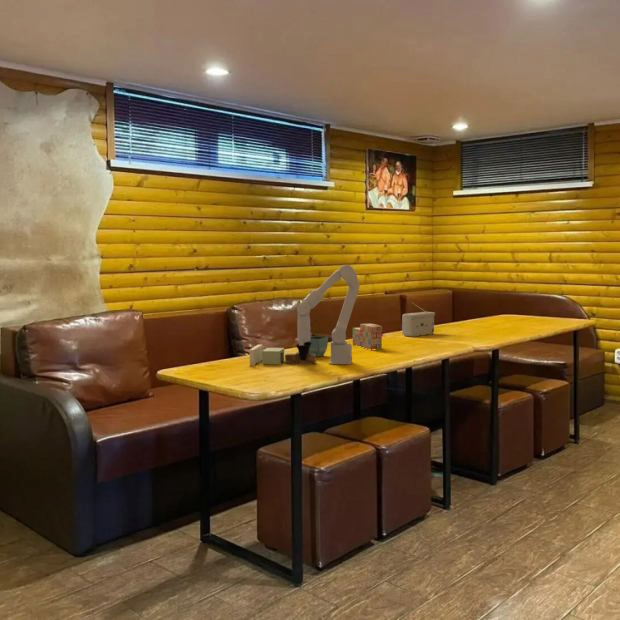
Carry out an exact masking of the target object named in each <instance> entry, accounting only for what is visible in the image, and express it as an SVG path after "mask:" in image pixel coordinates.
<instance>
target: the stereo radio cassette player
mask: <svg viewBox="0 0 620 620" xmlns="http://www.w3.org/2000/svg"><path fill="white" fill-rule="evenodd" d="M411 303H412V304H414V305H415V306H416V307H417V308H419V309H420V310H422V311H420V312H410V313H403V314H402V318H401V321H402V322H401V331H402V332H401V333H402V335H403V336H404V337H410V336H411V338H413V337H420V335H421V336H426V334H429V335H433V334H435V315H436V312H435V311H434V312H433V311H426V310H425V309H423V308H421V307H419V305H416V304H415V303H414V302H411ZM432 333H433V334H432Z"/></svg>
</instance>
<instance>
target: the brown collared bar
mask: <svg viewBox="0 0 620 620" xmlns="http://www.w3.org/2000/svg"><path fill="white" fill-rule="evenodd" d="M316 358H317V357H316V354H307V356H306V360H301V359H300V354H299V350H298V351H297V352H295V353H290V352H289V353H288V352H287V353H286V354H284V362H285V363H288V364H287V365H296V364H298V365H315V364H316V363H317V361H316V360H317V359H316ZM315 362H316V363H315ZM285 363H284V364H285Z"/></svg>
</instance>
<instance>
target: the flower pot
mask: <svg viewBox="0 0 620 620" xmlns="http://www.w3.org/2000/svg"><path fill="white" fill-rule="evenodd" d="M310 339H311V341H308V342H312V344H311V346H310V348H309V353H308V354H316V358H319V356H320V357H324V356H325V354H326V352H327V350H328V342H329V336H314V335H313V336H310Z"/></svg>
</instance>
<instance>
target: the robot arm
mask: <svg viewBox="0 0 620 620" xmlns="http://www.w3.org/2000/svg"><path fill="white" fill-rule="evenodd" d="M342 280H344V281H345V283H346V285H347V286H348V289H347V292H346V295H345V298H344V302H343V304H342V308H341V311H340V314H339V316H338V317H339V318H338V320H337V323H336V325H335V327H334V328H333V330H332V331H331V340H332V341H330V361H329V363H328V364H329V365H351V364H352V362H353V354H352V353H353V352H352V350H353V348H352V346H353V344H352V343H347V341H346V339H347V334H346V332H347V328H348V324H349V322H350V321H349V320H350V318H351V315H352V312H353V309H354V306H355V303H356V300H357V297H358V294H359V291H360V287H361V285H360V282H359V278H358V275H357V272H356V271H355V269H354V268H353V266H351V265H350V264H343V265H341V266H340V268H339V269H337V270H335V271H334V272H333V273H332V274H331V275H330V276H328V278H327V279H326V280H324V282H323V283H322V284H321V285H320V286H319V287H318V288H317V289H315V288H314V289H312V290H310V291H309V292H308V295H307V296H305V298H302V300H301V301H302V302H300V303H299V304H298V305H297V307H296V311H297V320H296V321H297V327H296V328H297V338H295V339H294V341H297V342H298V343H297V344H296V348H297V349H298V351H299V354H300V359H301V360H306V356H307V354H308V353H309V348H310V346H311V344H312V342H308V341H311V339H310V337H311V317H310V316H311V315H310V313H311V309H314V308H315V307H316V306H317V305H318V304H319V303H320V302H321V301H322V300H323V298H324V294H325V293H326V292H327V291H328V290H329V289H330V288H331V287H332V286H333V285H334V284H335V283H337V282H340V281H342Z"/></svg>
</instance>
